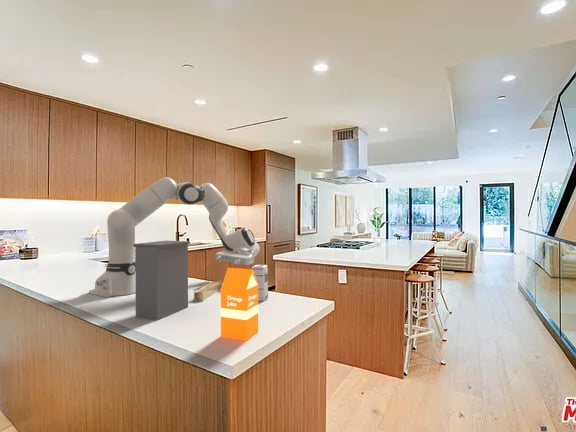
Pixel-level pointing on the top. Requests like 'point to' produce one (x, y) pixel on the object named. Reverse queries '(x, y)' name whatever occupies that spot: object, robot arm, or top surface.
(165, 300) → the pedestal
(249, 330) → the orange juice
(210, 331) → the top surface
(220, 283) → the maple bar
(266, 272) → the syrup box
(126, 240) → the robot arm
